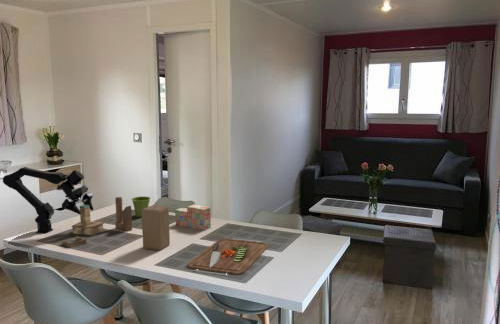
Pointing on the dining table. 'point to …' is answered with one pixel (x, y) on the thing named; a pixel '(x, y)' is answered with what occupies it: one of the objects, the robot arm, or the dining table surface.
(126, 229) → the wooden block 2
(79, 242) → the frame
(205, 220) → the stack of blocks
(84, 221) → the teal long block
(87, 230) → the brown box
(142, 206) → the plant pot
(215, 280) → the dining table surface
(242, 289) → the dining table surface
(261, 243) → the chopping board
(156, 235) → the wooden block
